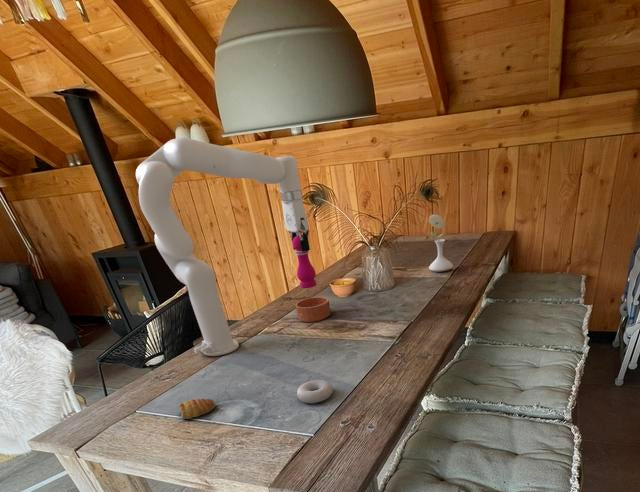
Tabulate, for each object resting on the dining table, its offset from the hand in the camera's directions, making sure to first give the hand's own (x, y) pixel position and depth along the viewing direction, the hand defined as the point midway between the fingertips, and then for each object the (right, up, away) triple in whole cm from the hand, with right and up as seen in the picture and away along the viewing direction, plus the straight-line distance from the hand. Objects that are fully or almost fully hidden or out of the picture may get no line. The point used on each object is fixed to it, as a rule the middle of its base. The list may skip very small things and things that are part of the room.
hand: (301, 249), depth 173 cm
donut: (+12, -59, -43) cm, 74 cm away
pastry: (-22, -63, -43) cm, 80 cm away
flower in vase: (+58, +10, +52) cm, 79 cm away
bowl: (+3, -22, +14) cm, 26 cm away
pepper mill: (+1, -12, +7) cm, 14 cm away
